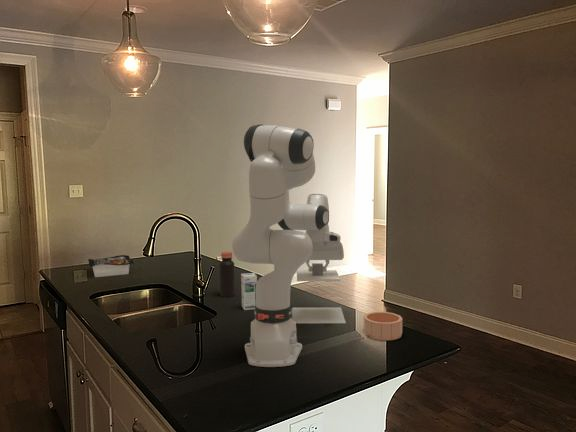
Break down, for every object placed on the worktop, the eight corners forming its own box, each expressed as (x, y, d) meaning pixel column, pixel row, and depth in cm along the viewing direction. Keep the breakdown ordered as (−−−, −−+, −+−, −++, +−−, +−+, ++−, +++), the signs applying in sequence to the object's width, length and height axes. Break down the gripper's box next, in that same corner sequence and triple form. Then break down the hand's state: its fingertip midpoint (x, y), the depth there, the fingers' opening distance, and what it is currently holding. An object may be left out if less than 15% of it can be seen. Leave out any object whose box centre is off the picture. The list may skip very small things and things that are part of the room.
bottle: (236, 293, 227) (235, 251, 225) (233, 297, 220) (232, 254, 218) (222, 293, 227) (221, 251, 225) (218, 297, 221) (217, 253, 219)
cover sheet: (340, 281, 180) (340, 268, 180) (297, 281, 181) (297, 268, 180) (336, 272, 196) (336, 260, 196) (296, 272, 197) (296, 260, 196)
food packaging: (134, 262, 267) (89, 265, 258) (134, 275, 268) (90, 279, 258) (128, 254, 289) (87, 257, 280) (129, 267, 290) (88, 270, 281)
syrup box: (244, 310, 200) (243, 276, 199) (241, 306, 206) (241, 273, 204) (257, 309, 202) (257, 275, 200) (254, 305, 207) (254, 272, 206)
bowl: (405, 340, 165) (405, 323, 164) (366, 340, 165) (367, 323, 164) (397, 327, 177) (397, 311, 177) (361, 327, 178) (361, 311, 177)
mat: (345, 325, 180) (345, 323, 180) (292, 325, 181) (292, 323, 180) (340, 309, 200) (340, 307, 200) (292, 309, 200) (292, 307, 200)
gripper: (290, 237, 184) (290, 273, 185) (344, 236, 184) (344, 272, 185) (290, 234, 190) (290, 269, 192) (342, 234, 190) (342, 269, 191)
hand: (317, 271), depth 188 cm, fingers closed on cover sheet, 4 cm apart
